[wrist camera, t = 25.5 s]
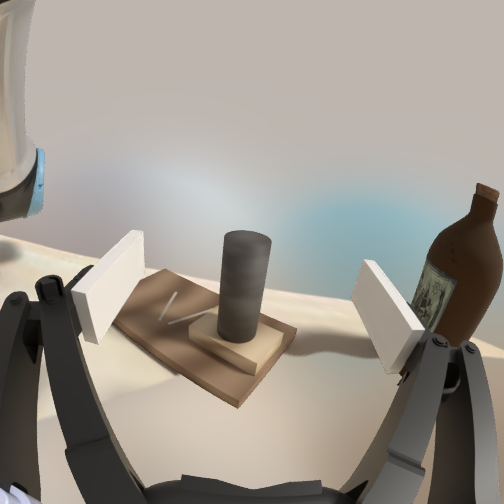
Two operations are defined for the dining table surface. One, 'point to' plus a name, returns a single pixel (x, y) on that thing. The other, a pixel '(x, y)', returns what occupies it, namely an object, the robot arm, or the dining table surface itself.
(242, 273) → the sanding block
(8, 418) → the robot arm
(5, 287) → the dining table surface
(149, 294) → the walnut board
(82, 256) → the dining table surface
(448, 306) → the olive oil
